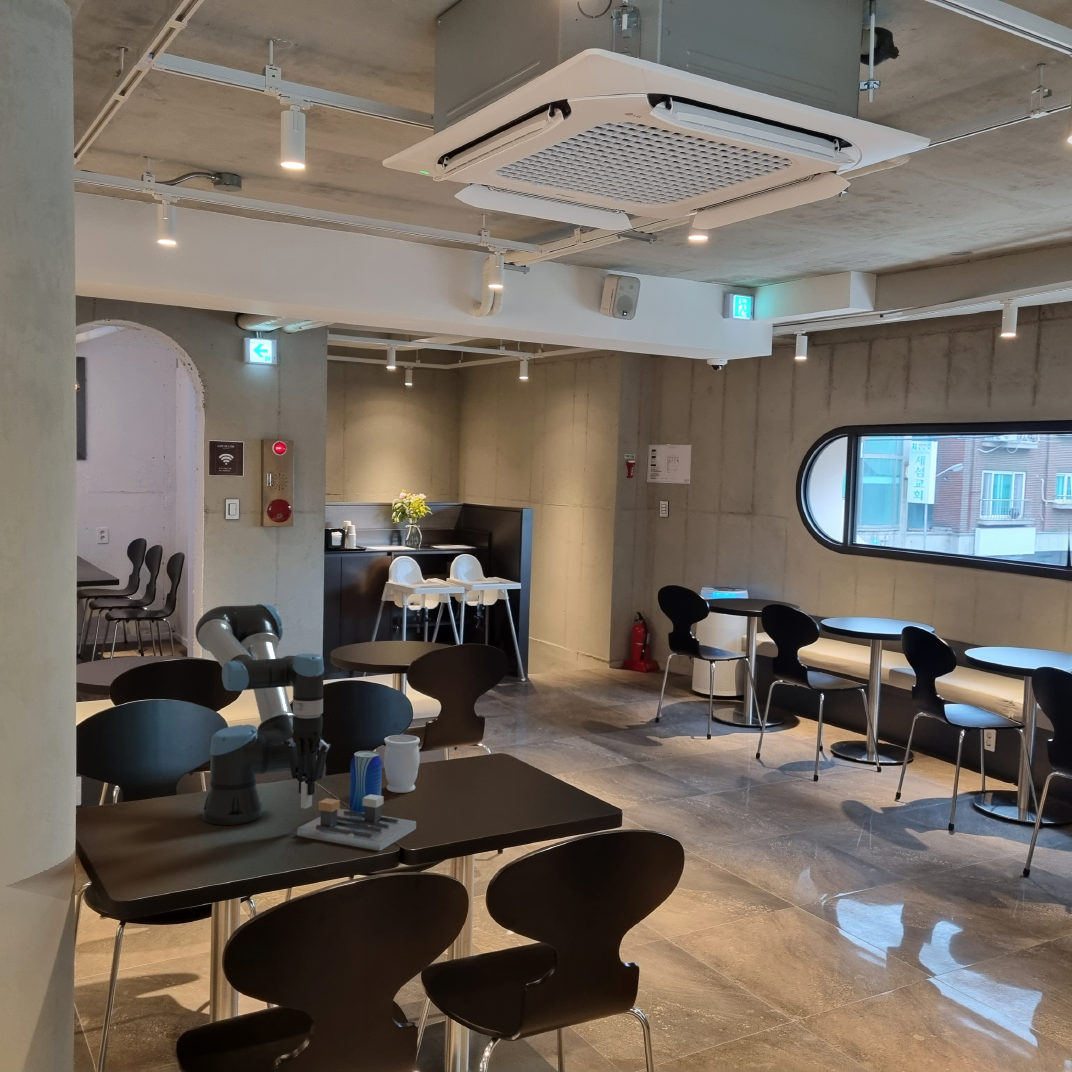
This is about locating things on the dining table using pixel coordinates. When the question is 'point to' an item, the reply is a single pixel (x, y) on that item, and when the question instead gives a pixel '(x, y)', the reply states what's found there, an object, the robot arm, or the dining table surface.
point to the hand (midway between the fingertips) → (306, 806)
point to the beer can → (364, 778)
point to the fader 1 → (329, 811)
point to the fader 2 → (373, 807)
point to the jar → (401, 762)
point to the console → (358, 830)
